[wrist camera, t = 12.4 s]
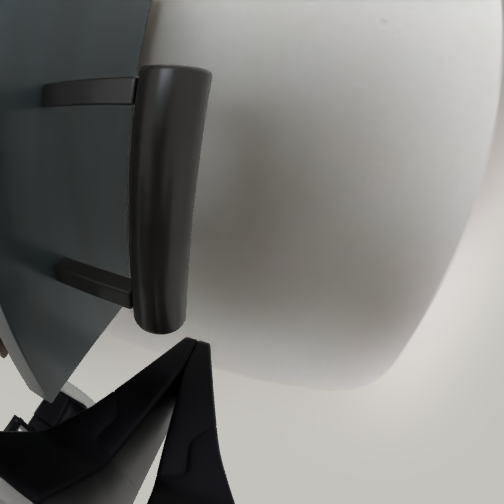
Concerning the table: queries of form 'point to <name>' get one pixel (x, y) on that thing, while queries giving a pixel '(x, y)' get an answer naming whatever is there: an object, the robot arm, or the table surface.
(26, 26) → the drawer
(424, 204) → the table surface
